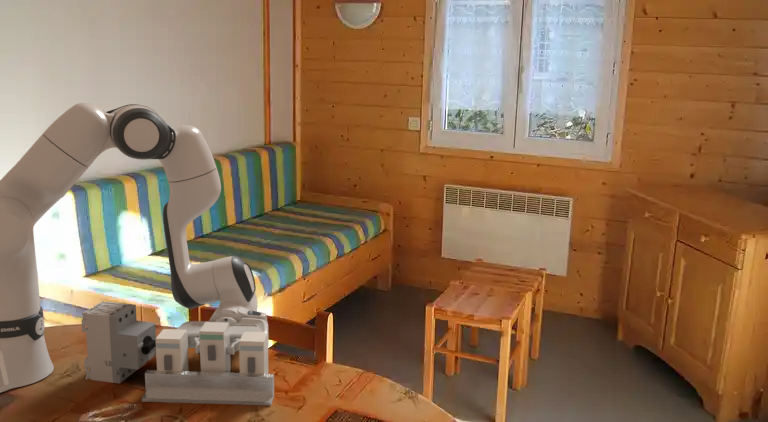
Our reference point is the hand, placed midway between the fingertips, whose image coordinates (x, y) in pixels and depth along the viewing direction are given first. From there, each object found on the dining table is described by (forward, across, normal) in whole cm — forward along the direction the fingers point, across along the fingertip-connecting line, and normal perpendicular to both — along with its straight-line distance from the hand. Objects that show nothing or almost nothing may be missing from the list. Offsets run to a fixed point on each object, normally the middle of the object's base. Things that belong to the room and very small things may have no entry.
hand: (214, 350), depth 146 cm
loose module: (-1, 0, +6) cm, 6 cm away
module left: (0, -9, +8) cm, 12 cm away
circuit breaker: (-5, -21, +9) cm, 23 cm away
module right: (0, +8, +8) cm, 12 cm away
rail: (+5, 0, +8) cm, 10 cm away
